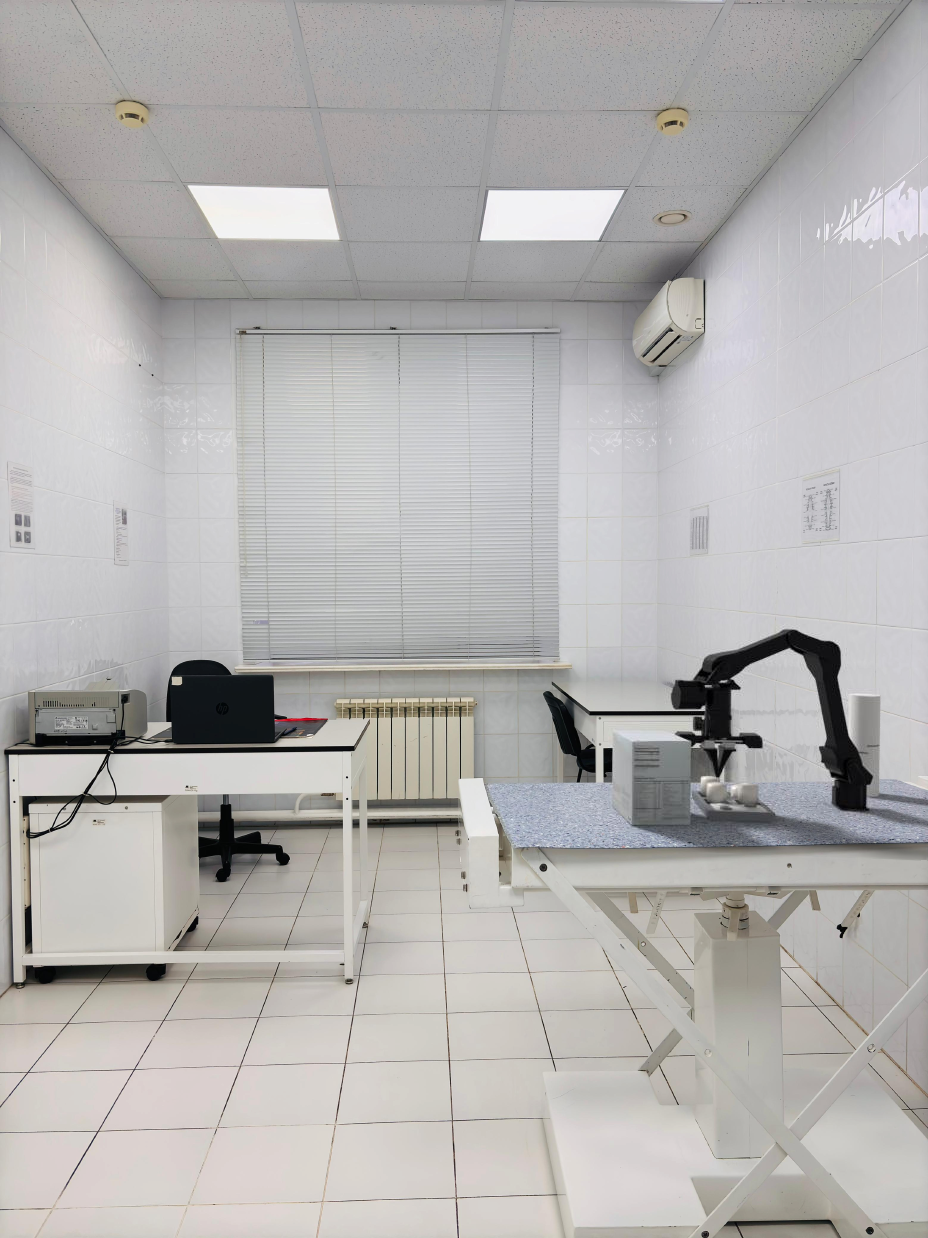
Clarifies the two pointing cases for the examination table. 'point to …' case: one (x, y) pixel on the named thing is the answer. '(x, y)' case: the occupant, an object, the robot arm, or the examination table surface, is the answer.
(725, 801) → the button
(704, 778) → the button
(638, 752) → the supplement box
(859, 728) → the cylindrical container
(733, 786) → the button
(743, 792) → the button
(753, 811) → the button board
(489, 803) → the examination table surface
